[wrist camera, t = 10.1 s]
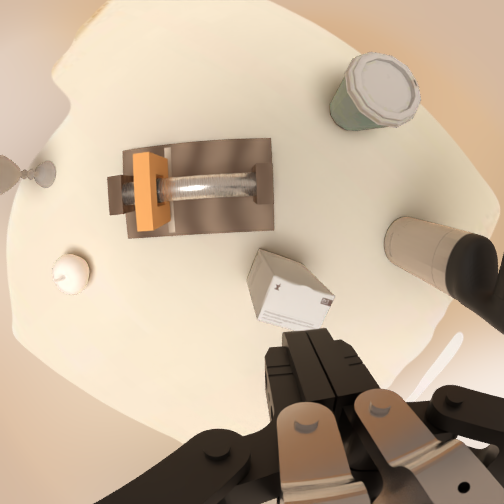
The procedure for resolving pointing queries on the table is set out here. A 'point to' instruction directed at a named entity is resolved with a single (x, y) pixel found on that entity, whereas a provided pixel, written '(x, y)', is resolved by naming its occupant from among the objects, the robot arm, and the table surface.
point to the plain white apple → (70, 274)
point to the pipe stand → (210, 209)
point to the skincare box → (287, 293)
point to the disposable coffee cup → (375, 94)
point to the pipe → (198, 187)
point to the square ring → (149, 191)
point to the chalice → (24, 174)
